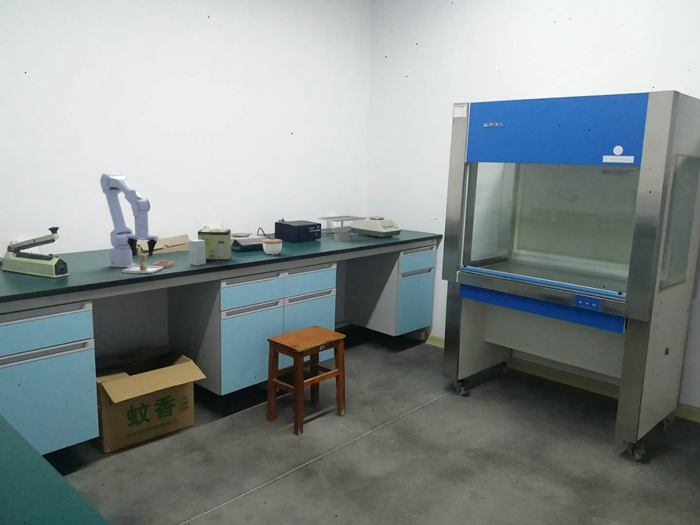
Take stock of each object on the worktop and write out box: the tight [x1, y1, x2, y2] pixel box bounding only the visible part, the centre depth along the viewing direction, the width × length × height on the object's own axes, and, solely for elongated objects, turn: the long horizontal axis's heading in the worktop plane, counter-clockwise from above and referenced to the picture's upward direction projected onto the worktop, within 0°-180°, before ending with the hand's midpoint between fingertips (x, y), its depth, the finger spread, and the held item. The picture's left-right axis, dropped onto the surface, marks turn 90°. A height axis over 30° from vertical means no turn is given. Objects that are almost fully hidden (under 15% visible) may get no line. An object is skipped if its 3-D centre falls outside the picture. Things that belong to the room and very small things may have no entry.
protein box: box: [197, 228, 232, 263], centre depth 288 cm, size 10×16×16 cm
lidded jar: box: [262, 236, 283, 256], centre depth 310 cm, size 11×11×9 cm
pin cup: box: [152, 260, 176, 269], centre depth 270 cm, size 7×7×2 cm
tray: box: [121, 264, 164, 274], centre depth 258 cm, size 14×12×1 cm
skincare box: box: [189, 239, 207, 266], centre depth 276 cm, size 6×4×12 cm
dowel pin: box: [138, 253, 148, 270], centre depth 257 cm, size 3×3×7 cm
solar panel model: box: [317, 215, 367, 243], centre depth 367 cm, size 28×17×15 cm, turn 133°
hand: (142, 255), depth 257 cm, fingers open, 7 cm apart
